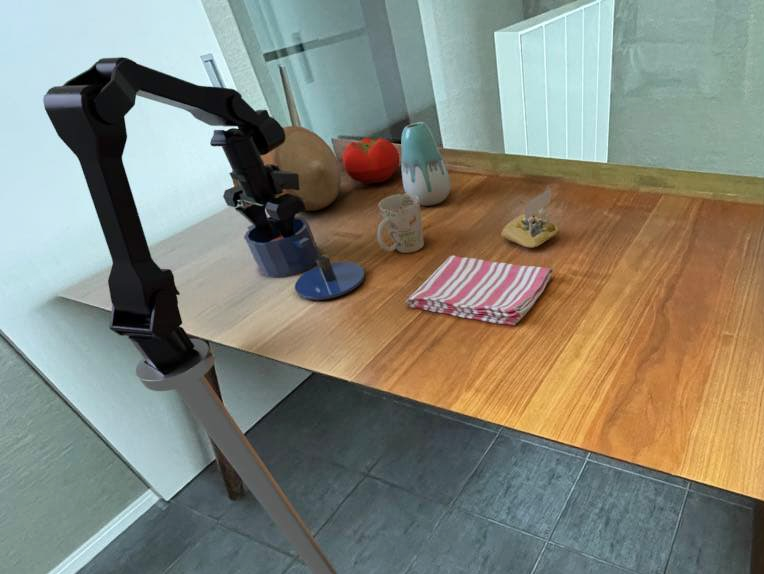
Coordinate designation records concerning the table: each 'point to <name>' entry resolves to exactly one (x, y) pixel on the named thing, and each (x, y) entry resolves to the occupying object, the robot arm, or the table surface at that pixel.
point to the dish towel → (481, 290)
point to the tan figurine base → (531, 224)
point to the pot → (283, 250)
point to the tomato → (371, 160)
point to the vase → (423, 166)
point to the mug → (401, 223)
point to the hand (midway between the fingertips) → (281, 240)
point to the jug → (307, 167)
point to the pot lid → (329, 279)
